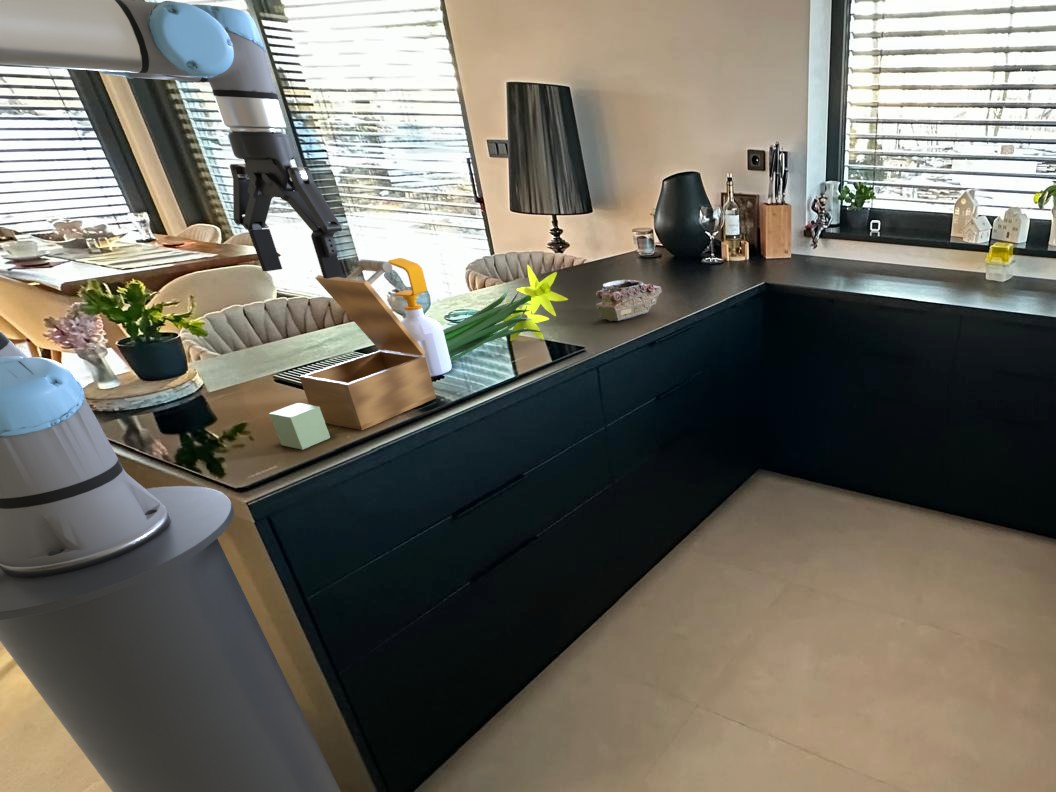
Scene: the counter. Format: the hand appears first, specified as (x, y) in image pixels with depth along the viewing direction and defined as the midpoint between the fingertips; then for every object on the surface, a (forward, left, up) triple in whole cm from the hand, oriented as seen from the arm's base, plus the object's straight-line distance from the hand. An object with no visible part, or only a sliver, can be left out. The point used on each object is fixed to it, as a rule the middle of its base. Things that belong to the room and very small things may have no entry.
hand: (302, 273), depth 104 cm
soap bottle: (+26, +8, -27) cm, 39 cm away
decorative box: (+86, -6, -27) cm, 90 cm away
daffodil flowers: (+45, +5, -27) cm, 53 cm away
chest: (+6, 0, -27) cm, 28 cm away
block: (-9, -1, -27) cm, 29 cm away
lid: (+10, 0, -10) cm, 14 cm away
